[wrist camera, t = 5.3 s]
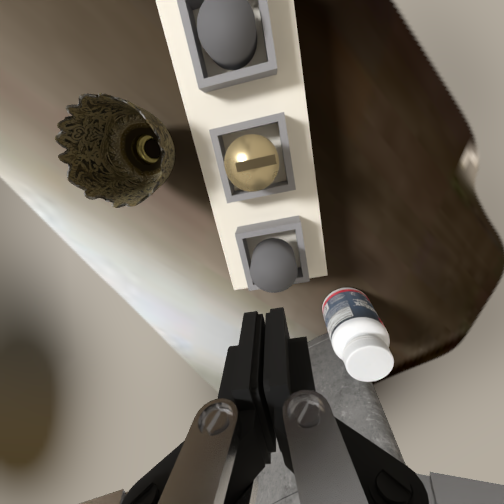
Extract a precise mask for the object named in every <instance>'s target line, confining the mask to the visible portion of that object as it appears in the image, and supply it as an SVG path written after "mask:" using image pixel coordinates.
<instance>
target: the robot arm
mask: <svg viewBox="0 0 504 504" xmlns="http://www.w3.org/2000/svg"><path fill="white" fill-rule="evenodd" d="M276 438H277V442H278V445H279V449H280V452H282V456H283V460H284V464H285V466H286V467H287V468H288V469H289V470H290V471H291V472H292V473H293V474H294V475H295V479H296V484H297V489H298V494H299V499H300V504H504V485H500V484H494V483H489V482H483V481H478V480H472V479H467V478H461V477H455V476H450V475H444V474H439V473H433V472H430V476H426V475H421V474H416V473H415V472H414V471H412V470H411V469H410V468H408V466H406V465H405V464H404V463H402V462H401V461H399V460H398V459H396V458H395V457H393V456H392V455H390V454H389V453H387V452H386V451H384V450H383V449H381V448H380V447H379V446H377V445H376V444H374V443H373V442H371V441H370V440H368V439H367V438H365V437H364V436H362V435H361V434H359V433H358V432H356V431H355V430H354V429H352V428H351V427H349V426H348V425H346V424H345V423H343V422H342V421H340V420H339V419H337V418H336V417H334V415H333V412H332V409H331V407H330V404H329V403H328V401H327V399H326V398H325V397H324V396H323V395H321V394H320V393H318V392H316V389H315V383H314V378H313V372H312V366H311V360H310V354H309V349H308V343H307V338H306V337H300V338H292V339H290V337H289V332H288V327H287V322H286V318H285V313H284V308H283V307H282V308H275V309H270V313H266V322H265V321H264V317H263V314H258V312H257V311H254V312H248V313H244V316H243V322H242V328H241V334H240V340H239V345H238V346H230V347H229V348H228V352H227V357H226V361H225V366H224V371H223V376H222V380H221V385H220V390H219V394H218V399H215V400H212V401H210V402H208V403H207V404H205V405H204V406H203V407H202V408H201V409H200V410H199V411H198V413H197V414H196V416H195V418H194V421H193V423H192V425H191V427H190V430H189V432H188V434H187V437H186V439H185V441H184V442H182V443H181V444H180V445H179V446H178V447H177V448H176V449H174V450H173V451H172V452H171V453H170V454H169V455H167V456H166V457H165V458H164V459H163V460H162V461H161V462H159V463H158V464H157V465H156V466H155V467H154V468H153V469H151V470H150V471H149V472H148V473H147V474H146V475H145V476H143V477H142V478H141V479H140V480H139V481H138V482H137V483H136V484H135V485H134V486H133V487H132V488H131V489H130V490H129V492H126V493H125V491H124V490H123V489H122V490H119V491H116V492H113V493H110V494H107V495H104V496H101V497H98V498H95V499H92V500H89V501H86V502H83V503H80V504H255V503H256V497H257V491H258V485H259V476H258V474H259V473H260V472H261V471H262V470H263V469H264V468H265V464H271V453H272V452H276Z"/></svg>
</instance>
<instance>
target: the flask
mask: <svg viewBox="0 0 504 504" xmlns="http://www.w3.org/2000/svg"><path fill="white" fill-rule="evenodd" d="M307 343H308V349H309V354H310V360H311V366H312V372H313V378H314V383H315V389H316V392H318V393H320V394H321V395H323V396H324V397H325V398H326V399H327V401H328V403H329V404H330V407H331V409H332V412H333V415H334V417H336V418H337V419H339V420H340V421H342V422H343V423H345V424H346V425H348V426H349V427H351V428H352V429H354V430H355V431H356V432H358V433H359V434H361V435H362V436H364V437H365V438H367V439H368V440H370V441H371V442H373V443H374V444H376V445H377V446H379V447H380V448H381V449H383V450H384V451H386V452H387V453H389V454H390V455H392V456H393V457H395V458H396V459H398V460H399V461H401V462H402V463H404V464H405V462H404V460H403V458H402V455H401V453H400V450H399V447H398V445H397V443H396V440H395V438H394V435H393V433H392V431H391V428H390V426H389V423H388V420H387V418H386V416H385V413H384V411H383V408H382V406H381V403H380V401H379V398H378V396H377V393H376V391H375V388H374V386H373V384H372V382H364V381H359V380H357V379H355V378H353V377H352V376H350V374H349V373H348V372H347V370H346V367H345V364H344V362H343V360H342V359H340V358H339V357H338V356H337V355H336V353H335V352H334V350H333V347H332V344H331V340H330V337H329V333H326V334H323V335H321V336H319V337H317V338H315V339H313V340H311V341H309V342H307ZM258 476H259V485H258V491H257V497H256V503H255V504H300V499H299V494H298V489H297V484H296V479H295V475H294V474H293V473H292V472H291V471H290V470H289V469H288V468H287V467H286V466H285V464H284V460H283V456H282V452H280V449H279V445H278V442H277V438H276V452H272V453H271V464H265V468H264V469H263V470H262V471H261V472H260V473H259V474H258Z"/></svg>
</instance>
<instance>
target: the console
mask: <svg viewBox="0 0 504 504" xmlns="http://www.w3.org/2000/svg"><path fill="white" fill-rule="evenodd" d="M247 1H248V2H249V4H250V5H251V7H252V9H253V12H254V16H255V22H256V29H257V48H256V51H255V54H254V56H253V58H252V59H251V61H250V62H249V63H248V64H247V65H246V66H244V67H243V68H241V69H238V70H226V69H223V68H221V67H220V66H218V65H217V64H216V63H215V62H214V61H213V60H212V58H211V57H210V56H209V54H208V53H207V52H206V51H205V49H204V48H203V46H202V44H201V42H200V40H199V36H198V32H197V18H198V13H199V10H200V7H201V5H202V3H203V2H204V0H156V4H157V7H158V11H159V15H160V18H161V22H162V26H163V29H164V33H165V37H166V41H167V44H168V48H169V52H170V55H171V59H172V63H173V66H174V70H175V74H176V77H177V81H178V85H179V89H180V92H181V96H182V100H183V103H184V107H185V111H186V114H187V118H188V122H189V125H190V129H191V133H192V137H193V140H194V144H195V148H196V151H197V155H198V159H199V162H200V166H201V170H202V173H203V177H204V181H205V185H206V188H207V192H208V196H209V199H210V203H211V207H212V210H213V214H214V218H215V221H216V225H217V229H218V233H219V236H220V240H221V244H222V247H223V251H224V255H225V258H226V262H227V266H228V269H229V273H230V277H231V281H232V284H233V288H234V290H237V289H243V288H248V289H249V291H250V290H257V289H260V288H258V287H257V286H256V285H255V284H254V282H253V281H252V279H251V276H250V266H251V260H252V253H253V250H254V248H255V247H256V246H257V244H258V243H260V242H261V241H263V240H265V239H268V238H279V239H282V240H284V241H286V242H287V243H288V244H289V245H290V246H291V247H292V249H293V251H294V254H295V259H296V264H297V270H298V272H297V277H296V280H295V282H294V283H293V284H296V283H303V282H309V281H310V279H309V278H314V277H321V276H327V275H328V274H327V266H326V258H325V250H324V242H323V233H322V225H321V217H320V209H319V201H318V193H317V185H316V177H315V169H314V161H313V153H312V145H311V136H310V128H309V120H308V112H307V104H306V96H305V88H304V80H303V72H302V64H301V56H300V48H299V40H298V31H297V23H296V15H295V7H294V0H247ZM248 134H258V135H262V136H264V137H266V138H268V139H269V140H270V141H271V142H272V143H273V145H274V146H275V148H276V150H277V153H278V157H279V170H278V173H277V176H276V178H275V179H274V181H273V182H272V183H271V184H270V185H269V186H268V187H266V188H265V189H263V190H260V191H256V192H248V191H244V190H241V189H239V188H237V187H236V186H235V185H234V184H233V183H232V182H231V181H230V180H229V178H228V177H227V174H226V172H225V167H224V158H225V154H226V151H227V149H228V147H229V146H230V144H231V143H232V142H233V141H234V140H236V139H237V138H239V137H241V136H243V135H248Z"/></svg>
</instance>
